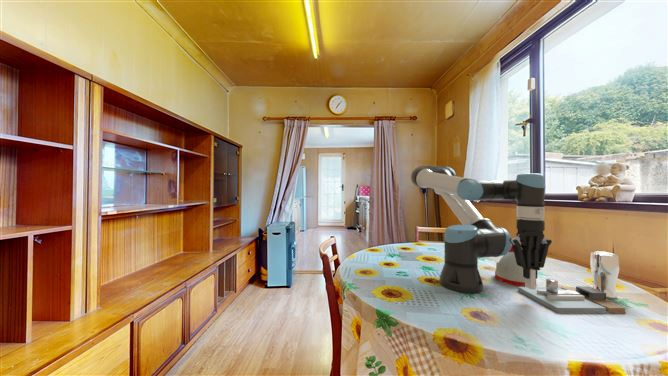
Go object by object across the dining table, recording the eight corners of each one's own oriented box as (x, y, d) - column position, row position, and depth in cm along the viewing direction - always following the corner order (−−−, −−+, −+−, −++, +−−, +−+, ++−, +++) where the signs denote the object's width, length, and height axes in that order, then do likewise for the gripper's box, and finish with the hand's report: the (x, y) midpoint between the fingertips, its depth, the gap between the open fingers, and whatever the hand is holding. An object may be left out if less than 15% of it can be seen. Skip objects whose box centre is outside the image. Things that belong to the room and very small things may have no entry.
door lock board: (557, 312, 75) (557, 299, 75) (518, 290, 91) (518, 280, 91) (625, 313, 75) (625, 300, 75) (574, 291, 91) (574, 280, 91)
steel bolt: (551, 297, 81) (551, 281, 81) (543, 293, 84) (543, 278, 84) (581, 297, 81) (581, 282, 81) (572, 293, 84) (572, 278, 84)
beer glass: (625, 300, 84) (625, 256, 84) (601, 298, 85) (601, 255, 85) (607, 291, 91) (607, 251, 91) (585, 290, 92) (585, 250, 92)
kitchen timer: (518, 274, 109) (518, 240, 109) (545, 286, 95) (545, 248, 95) (487, 274, 109) (487, 241, 109) (511, 286, 95) (511, 248, 95)
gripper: (519, 220, 79) (519, 292, 79) (559, 220, 79) (559, 292, 79) (503, 217, 87) (503, 283, 87) (539, 217, 87) (539, 283, 87)
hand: (530, 287), depth 83 cm, fingers closed
